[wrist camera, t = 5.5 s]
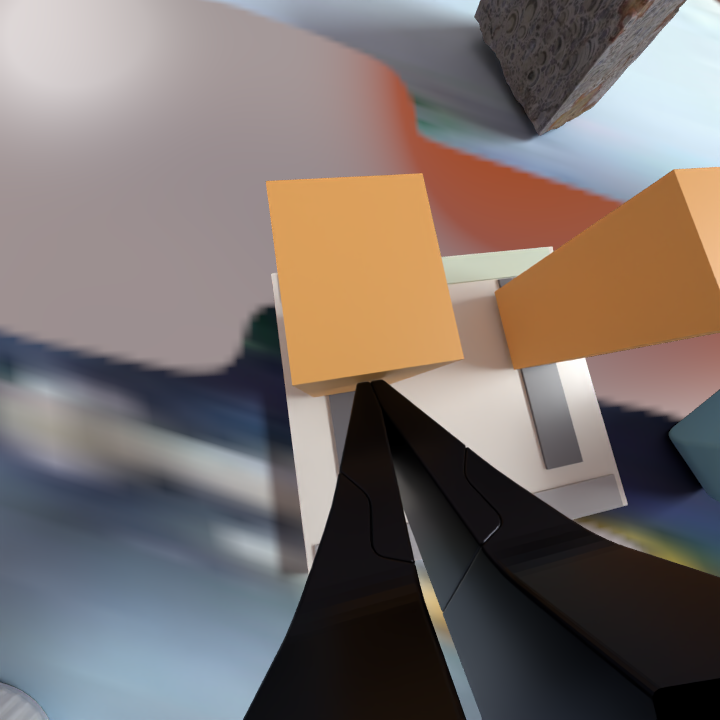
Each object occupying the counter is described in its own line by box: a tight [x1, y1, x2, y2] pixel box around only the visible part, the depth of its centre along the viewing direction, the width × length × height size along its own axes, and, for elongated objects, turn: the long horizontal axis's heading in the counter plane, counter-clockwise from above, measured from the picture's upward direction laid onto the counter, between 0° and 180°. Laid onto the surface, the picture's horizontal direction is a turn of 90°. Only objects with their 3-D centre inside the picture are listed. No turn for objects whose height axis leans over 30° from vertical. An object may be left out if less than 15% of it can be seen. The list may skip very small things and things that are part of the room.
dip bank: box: [271, 247, 628, 573], centre depth 17 cm, size 17×19×1 cm
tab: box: [494, 167, 720, 370], centre depth 12 cm, size 5×4×9 cm
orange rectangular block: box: [266, 174, 464, 397], centre depth 11 cm, size 5×4×9 cm
